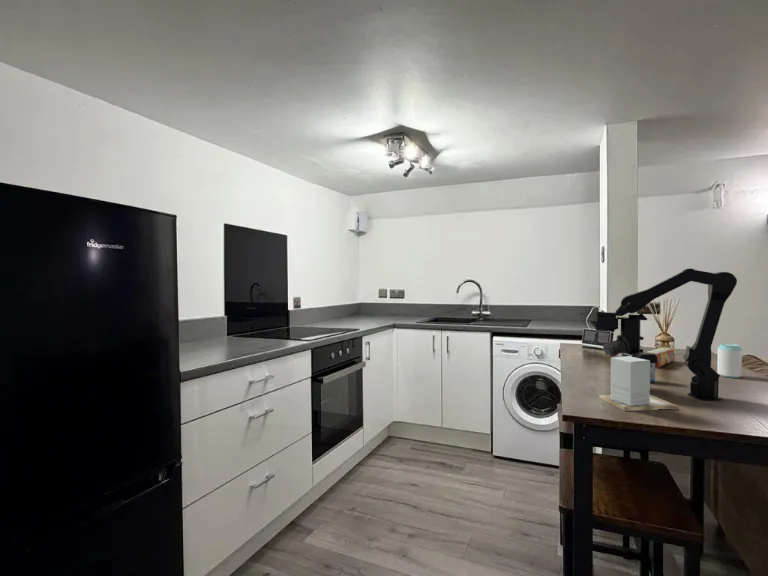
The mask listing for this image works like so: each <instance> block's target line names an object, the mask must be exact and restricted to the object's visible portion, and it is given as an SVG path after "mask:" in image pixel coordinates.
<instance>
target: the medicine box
mask: <svg viewBox="0 0 768 576" xmlns="http://www.w3.org/2000/svg"><path fill="white" fill-rule="evenodd" d="M651 382H654V383H655V382H656V368H655V363H650V383H651Z"/></svg>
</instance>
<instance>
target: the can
mask: <svg viewBox="0 0 768 576" xmlns="http://www.w3.org/2000/svg"><path fill="white" fill-rule="evenodd" d="M742 363H743V349H742V348H741V347H740V345H739V344H735V343H720V344H719V346H718V347H717V364H716V365H717V371H716V372H717V373H718V374H719V375H720V377H723V378H726V379H727V378H728V379H739V378H741V377H742V372H743V371H742V368H743V364H742Z"/></svg>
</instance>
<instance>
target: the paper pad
mask: <svg viewBox="0 0 768 576" xmlns="http://www.w3.org/2000/svg"><path fill="white" fill-rule="evenodd" d="M599 398H600V399H599ZM598 399H599V400H601V399H602V401H603V400H604V401H603V402H605V401H606V402H605V403H607V402H608V403H607V404H609V403H610V405H611V404H612V406H613V407H616V408H617V409H620V410H622V411H623V412H630V411H633V412H634V411H659V410H658V409H672V410H678V408H679V407H678V406H679V405H676V404H674V403H672V402H670V401H667V400H664V399H662V398H659V397H657V396H654V395H651V394H650V403H649V404H643V405H634V406H630V405H627V404H624V403H621V402H618V401H615V400H612V399H611V394H600V395H599V397H598Z"/></svg>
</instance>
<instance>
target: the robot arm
mask: <svg viewBox="0 0 768 576" xmlns="http://www.w3.org/2000/svg"><path fill="white" fill-rule="evenodd" d="M691 282H693V283H699V284H704V285H707V302H706V305H705V308H704V312H703V314H702V315H703V316H702V319H701V322H700V325H699V328H698V332H697V335H696V339H695V342H694V344H692V346H689V345H686V347H685V353H684V355H683V356H682V358H683V359H684V364H685V366H686V367H687V368H688V370H689V371H690V372H692V373H693V376H691V381H690V384H689V385H690V388H689V389H690V392H687V395H688V396H690V397H693V398H695V399H699V400H701V401H722V400H724V399H723V397H720V396H719V383H720V380H719V379H720V377H721V376H720V375H719V374H718V373H717V371H716V370H715V369H714V368H712V344H713V342H714V339H715V335H716V332H717V329H718V326H719V322H720V319H721V316H722V313H723V309H724V307H725V304H726V302H727V300H728V299H729V298H730V296H731V295H732V293H733V291H734V290H735V288H736V286H737V284H738V279H737V277H736V275H734V274H732V273H731V272H729V271H718V272H715V273H714V272H709V271H705V270H704V271H703V270H698V269H695V268H686V269H683V270H681V271H680V272H679V273H677V274H675V275H673V276H670V277H669V278H667V279H665V280H663V281H661V282H659V283H657V284H655V285H652V286H651V287H649V288H647V289H644V290H641V291H638V292H635V293H631V294H628V295H626V296H623V297H622V299H621V300H620V306H619V307H618V308H617V309H615V312H606V311H596V321H595V331H596V332H604V333H605V332H607V333H615V331H617V330H619V320H620V334H619V335H617V336H616V340H612V341H610V342H609V341H608V342H607V343H604V344H602V347H603V351H604V354H605V355H608V356H611V357H625V356H630V357H635V358H640V359H645V360H650V363H658V357H657V356H656V355H655V354H652V353H648V351H645V352H644V349H643V348H641V341H644V336H641V321H648V318H647V317H646V316H645V315H644V314H643V312H640V313H639V314H636V313H638V312H639V311H640V310H642V309H643V308H645V307H646V306H648V304H650V302H651V303H652V301H654V300H655V299H657V298H659V297H661V296H665V295H666V294H668V293H669V292H672V291H673V290H676V289H678V288H680V287H682V286H684V285H686V284H688V283H691ZM626 315H628V316H626Z"/></svg>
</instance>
